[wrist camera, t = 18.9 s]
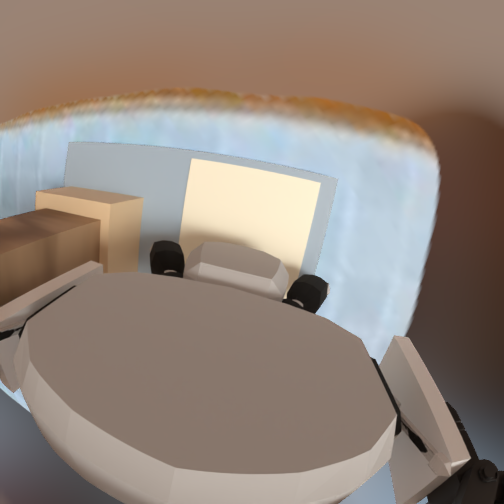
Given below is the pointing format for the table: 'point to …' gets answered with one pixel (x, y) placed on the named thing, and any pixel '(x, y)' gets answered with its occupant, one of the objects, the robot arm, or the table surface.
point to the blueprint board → (192, 203)
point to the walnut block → (43, 248)
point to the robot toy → (208, 384)
